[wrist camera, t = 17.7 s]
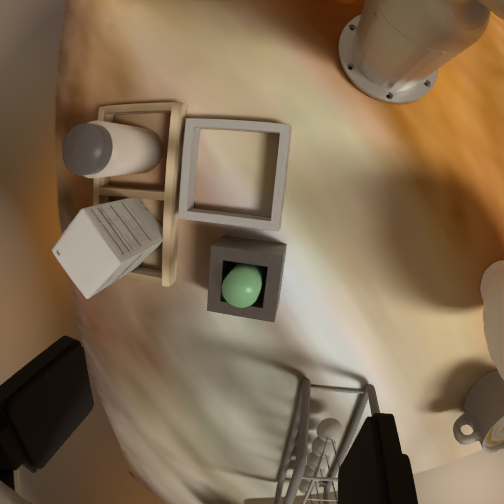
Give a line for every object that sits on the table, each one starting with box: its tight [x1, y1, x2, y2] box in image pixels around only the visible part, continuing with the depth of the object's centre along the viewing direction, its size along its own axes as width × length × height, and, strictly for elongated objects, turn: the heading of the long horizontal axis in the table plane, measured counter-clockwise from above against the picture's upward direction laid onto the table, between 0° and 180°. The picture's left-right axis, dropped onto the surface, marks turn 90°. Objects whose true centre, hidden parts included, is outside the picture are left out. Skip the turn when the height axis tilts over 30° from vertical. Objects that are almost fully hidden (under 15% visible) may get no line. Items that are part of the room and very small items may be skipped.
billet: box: [63, 121, 163, 178], centre depth 33 cm, size 6×6×13 cm
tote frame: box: [178, 118, 291, 231], centre depth 37 cm, size 12×12×2 cm
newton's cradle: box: [274, 379, 380, 504], centre depth 39 cm, size 30×10×18 cm, turn 176°
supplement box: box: [52, 198, 163, 299], centre depth 36 cm, size 7×7×13 cm
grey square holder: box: [207, 236, 287, 322], centre depth 39 cm, size 8×8×5 cm
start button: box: [222, 262, 266, 308], centre depth 37 cm, size 4×4×6 cm
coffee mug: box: [453, 370, 504, 452], centre depth 35 cm, size 13×10×10 cm
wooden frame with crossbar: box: [93, 102, 188, 287], centre depth 40 cm, size 23×12×2 cm, turn 175°
